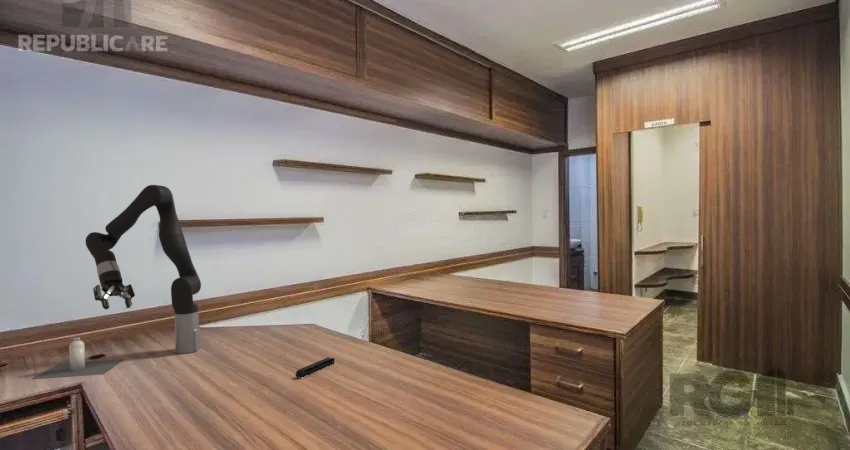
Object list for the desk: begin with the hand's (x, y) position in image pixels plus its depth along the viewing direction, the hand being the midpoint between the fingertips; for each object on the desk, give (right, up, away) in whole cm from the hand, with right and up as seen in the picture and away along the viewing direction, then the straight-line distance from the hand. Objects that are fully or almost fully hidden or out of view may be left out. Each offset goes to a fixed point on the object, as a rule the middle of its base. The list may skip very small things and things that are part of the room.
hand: (118, 307), depth 171 cm
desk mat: (-8, -23, -9) cm, 26 cm away
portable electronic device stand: (+85, -23, -10) cm, 88 cm away
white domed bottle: (-9, -22, -9) cm, 26 cm away
